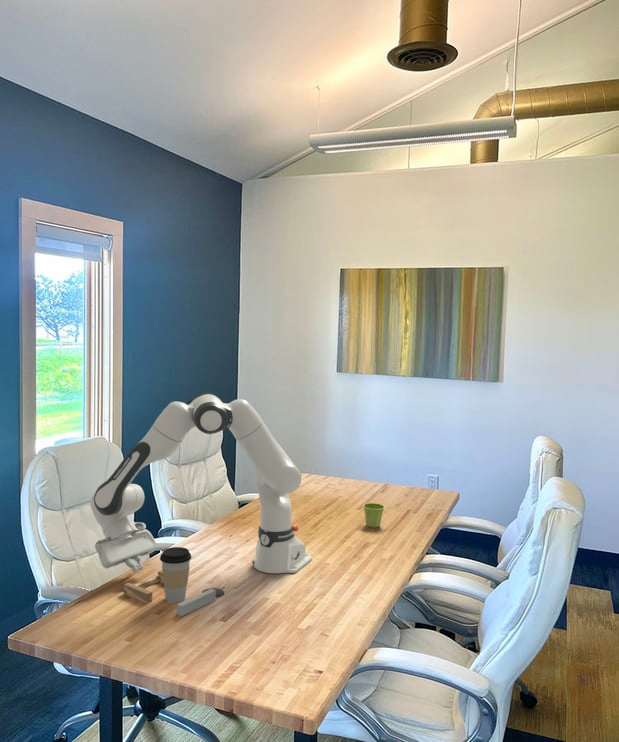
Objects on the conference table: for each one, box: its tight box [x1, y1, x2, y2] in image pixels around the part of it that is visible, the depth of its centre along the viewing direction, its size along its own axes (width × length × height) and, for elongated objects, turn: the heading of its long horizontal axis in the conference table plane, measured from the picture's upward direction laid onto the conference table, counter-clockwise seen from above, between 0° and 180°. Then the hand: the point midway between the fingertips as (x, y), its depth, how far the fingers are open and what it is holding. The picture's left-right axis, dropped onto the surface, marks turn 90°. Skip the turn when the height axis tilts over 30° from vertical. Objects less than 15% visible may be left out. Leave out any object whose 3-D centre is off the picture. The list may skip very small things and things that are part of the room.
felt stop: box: [176, 588, 216, 617], centre depth 186 cm, size 14×2×3 cm, turn 145°
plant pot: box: [362, 502, 386, 528], centre depth 269 cm, size 9×9×9 cm
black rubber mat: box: [201, 587, 225, 598], centre depth 196 cm, size 7×7×1 cm
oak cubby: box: [123, 569, 163, 605], centre depth 196 cm, size 15×11×3 cm
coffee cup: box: [159, 546, 192, 604], centre depth 190 cm, size 9×9×15 cm
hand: (138, 570), depth 201 cm, fingers closed
